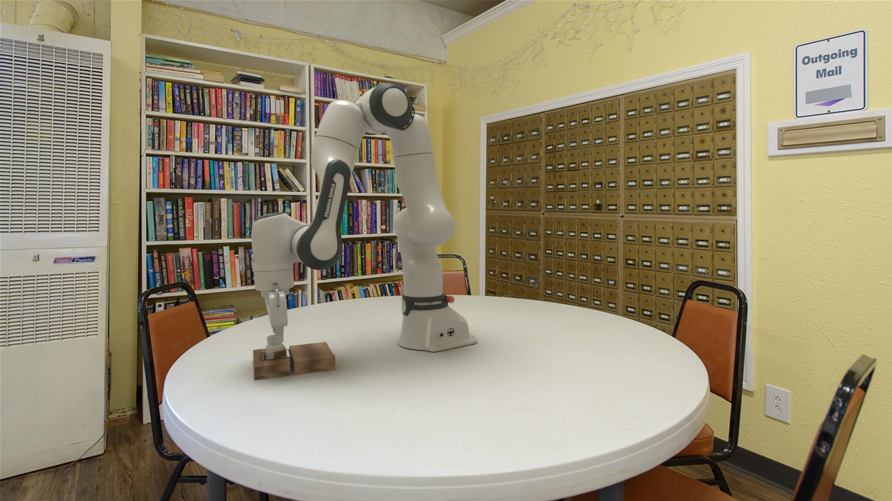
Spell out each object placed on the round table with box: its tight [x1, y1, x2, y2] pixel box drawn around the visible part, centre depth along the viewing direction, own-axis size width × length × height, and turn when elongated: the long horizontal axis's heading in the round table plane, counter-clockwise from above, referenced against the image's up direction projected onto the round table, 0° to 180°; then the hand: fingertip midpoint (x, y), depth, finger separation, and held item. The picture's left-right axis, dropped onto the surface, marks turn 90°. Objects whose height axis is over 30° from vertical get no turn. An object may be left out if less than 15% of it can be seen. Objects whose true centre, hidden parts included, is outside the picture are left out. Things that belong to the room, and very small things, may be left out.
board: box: [252, 341, 336, 381], centre depth 116 cm, size 18×14×3 cm
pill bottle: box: [264, 334, 286, 360], centre depth 114 cm, size 4×4×8 cm
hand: (278, 337), depth 114 cm, fingers open, 8 cm apart
